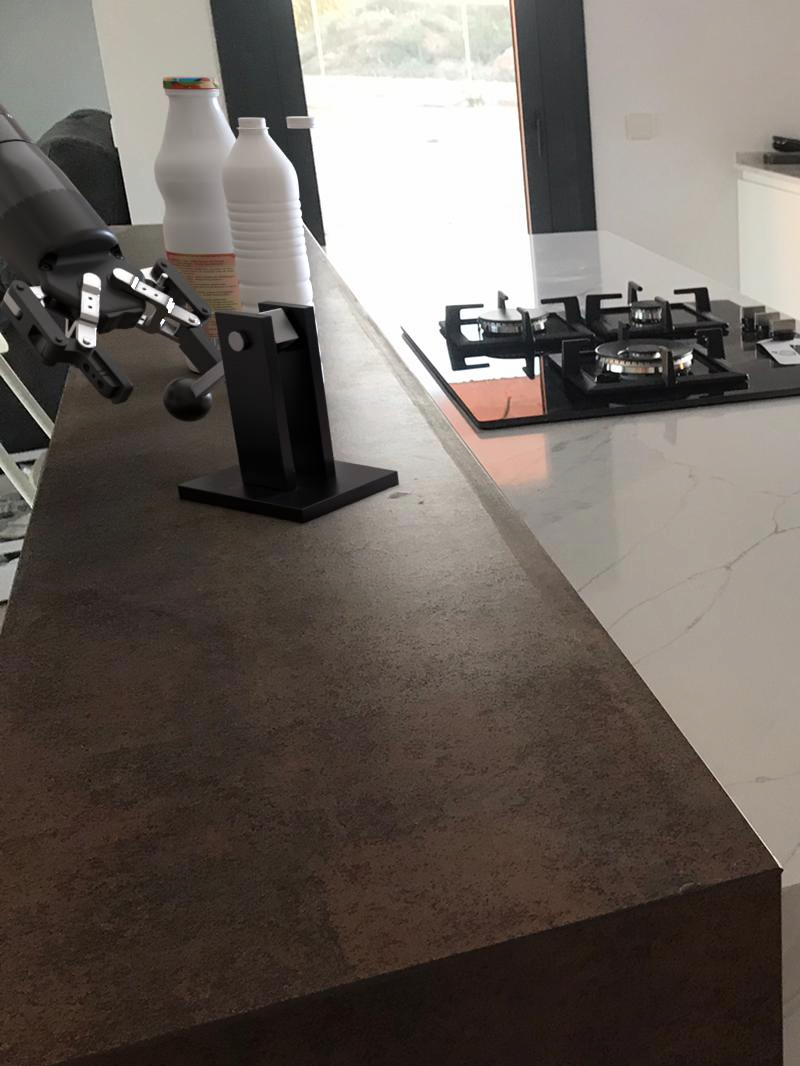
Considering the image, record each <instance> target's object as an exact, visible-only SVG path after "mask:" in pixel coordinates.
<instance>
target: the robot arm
mask: <svg viewBox="0 0 800 1066" xmlns="http://www.w3.org/2000/svg"><path fill="white" fill-rule="evenodd" d="M0 258H1V259H2V260H3V262H4V263H5V264H6V265H7V266H8V268H9V269H10V270H11V271H12V273H13V274H14V275H15V276H16V277H17V278H18V280H17V279H15V280H12V281H11V282H10V284H9V287H8V288H7V290H6V292H5V294H4V296H3V299H2V301H1V303H0V309H1V310H2V312H3V313H4V315H5V316H6V317H7V319H8V320H9V321H10V323H11V324H12V326H13V327H14V328H15V330H16V331H17V332H18V334H19V335H20V336H21V337H22V339H23V340H24V341H25V343H26V344H27V346H28V347H29V348H30V350H31V351H32V352H33V354H34V355H35V357H37V359H38V360H39V362H40V363H41V364H42V365H44V366H46V367H49V368H50V367H55V366H57V365H58V363H60V364H68V365H69V366H70V367H72V368H74V369H78V370H80V372H81V373H82V375H84V377H85V378H86V380H88V382H89V383H91V385H92V387H93V388H95V390H96V391H97V392H98V394H99V395H100V396H102V397H103V398H104V399H106V400H109V401H110V402H111V403H112V404H113V405H120V404H124V403H127V401H128V399H129V398H130V396H131V394H132V392H133V391H134V386H133V383H132V382H131V380H130V379H129V377H128V376H127V375H126V374H125V373H124V371H123V370H122V369H121V368H120V366H118V364H117V363H116V362H115V360H114V359H113V358H112V357H111V356H110V355H109V353H108V352H107V351H106V349H104V347H100V348H96V345H97V334H98V335H100V336H101V335H105V334H108V333H110V332H113V331H114V330H129V329H134V328H137V329H139V330H141V331H142V332H144V333H146V334H149V335H155V334H159V335H161V336H163V337H164V338H166V339H169V340H170V341H173V342H175V343H177V344H179V345H178V348H179V349H180V350H181V351H182V353H183V354H185V355H186V356H187V357H188V359H189V360H190V361H191V362H192V364H193V365H194V366H195V367H196V368H197V370H198V371H199V372H200V373H199V374H200V375H201V377H202V376H203V375H204V374H205V373H207V372H208V371H209V370H210V369H212V368H213V367H214V366H215V365H216V364H218V363H219V362H220V361H221V360H222V356H221V352H220V351H219V350H218V349H217V347H216V346H215V345H214V343H213V342H212V341H211V340H210V339H209V337H208V336H207V335H206V334H205V333H204V331H203V328H204V327H205V325H206V323H207V322H208V320H209V319H210V317H211V315H212V314H213V310H212V308H211V307H210V306H209V305H208V304H207V303H206V302H205V301H204V299H203V298H202V297H201V296H200V295H199V294H198V293H197V292H196V291H195V289H194V288H193V287H192V286H191V285H190V284H189V283H188V282H187V280H186V279H185V278H184V277H183V276H182V275H181V274H180V273H179V272H178V270H177V269H176V268H175V267H174V266H173V265H172V264H171V263H170V262H169V261H168V259H166V258H163V257H159V258H157V259H156V261H155V262H154V264H153V266H149V267H145V268H141V269H140V268H138V267H137V266H135V265H133V264H132V263H131V262H129V261H128V260H127V259H126V258H125V257H124V255H123V252H122V249H121V246H120V243H119V240H118V238H117V236H116V234H115V233H114V232H113V231H112V229H111V228H110V227H109V226H108V224H106V222H105V221H104V219H102V218H101V216H100V215H99V214H98V212H96V210H95V209H94V208H93V206H92V205H91V204H90V203H89V202H88V201H87V199H86V198H85V197H84V195H82V193H81V192H80V191H79V190H78V188H77V187H76V185H74V183H73V182H72V181H71V180H70V179H69V177H68V176H67V175H66V174H65V173H64V171H63V170H62V169H61V168H60V167H59V166H58V165H57V164H55V162H54V161H53V160H52V159H50V158H49V157H48V156H47V155H46V154H45V153H44V152H43V151H42V150H41V148H40V147H39V146H38V145H37V144H36V143H35V141H34V140H33V139H32V138H31V136H30V135H29V134H28V133H27V131H26V130H25V129H24V128H23V127H22V126H21V124H20V123H19V122H18V120H17V119H16V118H15V117H14V116H13V114H12V113H11V112H10V111H9V109H8V108H7V107H6V106H5V105H4V104H3V103H1V102H0ZM147 303H149V304H150V305H152V306H154V308H155V310H154V311H153V313H152V314H151V315H146V314H145V312H146V311H147ZM186 304H188V305H189V306H190V307H191V308H192V309H193V310H194V311H192V312H191V311H190V310H189V309H188V308H187V306H186ZM49 311H50V312H52V313H54V314H56V315H58V316H60V317H62V318H64V319H65V333H64V332H63V330H62V329H61V327H60V326H59V324H57V322H56V321H55V319H54V318H53V317H52V315H51V314H50V313H49ZM165 318H168V319H170V320H172V321H174V322H176V323H178V325H177V326H176V325H174V324H173V323H171V322H169V321H167V320H165ZM179 323H180V324H179ZM185 355H184V356H185Z"/></svg>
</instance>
